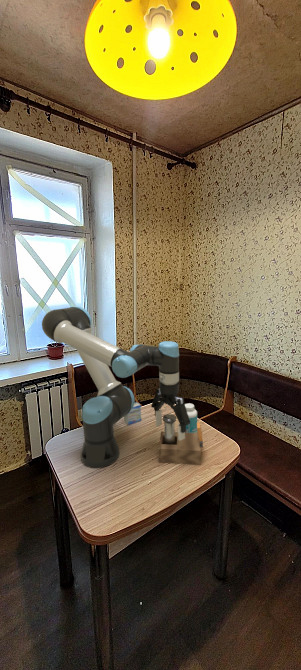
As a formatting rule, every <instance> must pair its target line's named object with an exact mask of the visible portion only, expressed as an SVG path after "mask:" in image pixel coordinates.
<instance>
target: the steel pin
mask: <svg viewBox="0 0 301 670" xmlns="http://www.w3.org/2000/svg"><path fill="white" fill-rule="evenodd" d="M162 421H163V422H164V432H165V444H169V445H175V432H176V431H175V423H176V421H177V417H176V415H174V414H171V413H169V414H164V415H163V416H162Z"/></svg>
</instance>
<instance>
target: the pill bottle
mask: <svg viewBox="0 0 301 670" xmlns="http://www.w3.org/2000/svg"><path fill="white" fill-rule="evenodd" d="M184 404H185V407H186V410H187V414H188V417H189V420H190V424H188V425H186V432H185V433H198V429H197V423H198V410H196V408H195V405H194V404H193V403H190V402H189V403H184Z"/></svg>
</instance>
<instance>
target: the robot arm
mask: <svg viewBox="0 0 301 670" xmlns="http://www.w3.org/2000/svg"><path fill="white" fill-rule="evenodd" d="M91 326H92V317H91V314H90V313H89V311H88V310H86V308H83V307H81V306H70V307H64V308H57V309H52V310H50V311H48V312H46V314H45V315H44V316H43V319H42V321H41V328H42V331H43V332H44V334H45V335H46V337H48V338H49V339H50V340H51V341H54V342H56V343H57V344H62V343H63V344H65V345H67V346H69V347H71V348H74V349H75V350H76V351H77V353H78V355H79V356H80V359H81V360H82V362H83V364H84V366H85V368H86V371H87V372H88V373H89V375H90V377H91V378H92V381H93V383H94V384H95V386H96V388H97V391H98V392H97V396H96V397H91V398H89V399H88V400H87V401H85V403H84V404H83V406H82V408H81V409H82V413H81V418H82V426H83V427H82V428H83V437H84V440H83V445H82V448H81V451H80V453H81V454H80V456H81V457H80V458H81V459H82V460H81V462H82V461H83V462H82V464H83V463H84V464H83V465H85V466H86V465H87V466H86V467H88V466H90V467H89V468H92V467H94V469H100V467H101V468H105V467H108V466H110V465H112V464H113V463H114V462H116V461H117V460H118V458H119V456H120V448H119V444H118V443H117V440H116V438H115V431H114V430H115V429H114V425H116V424H117V423H118V422H120V420H121V419H124V416H125V415H127V414H128V413H129V412H130V411H131V410H132V408H133V406H134V403H136V402H135V395H134V393H133V391H132V389H130V388H129V387H128V386H123V385H124V384H122V382H120V381H118V380H117V379H116V378H115V376H116V377H118V378H122V379H124V378H128V377H130V376H133V375H134V374H136V372H138V371H141V369H143V368H145V367H146V366H153V367H155V366H156V367H158V369H159V370H158V371H159V372H158V373H159V374H158V376H159V388H156V390H155V395H154V397H153V400H152V402H151V404H150V406H151V408H153V411H154V418H155V427H159V426H161V425H162V424H163V422H162V421H163V416H162V415H163V412H162V411H163V410H162V407H163V406H164V405H167V406H168V407H170V408H171V409H172V410H173V412H174V414H175V416H176V420H177V421H178V427H177V428H178V430H177V432H178V440H179V441H181V440H182V439H184V438H185V432H186V425H188V424H190V420H189V417H188V414H187V410H186V407H185V404H186V403H185V398H184V397H179V396H178V393H179V392H180V382H179V381H180V369H179V368H180V364H179V363H180V350H179V349H180V348H179V344H178V343H177V342H175V341H170V340H169V341H160V343H158V346H155V345H148V344H147V345H146V344H142V343H141V344H134V345H132V346H131V348H130V349H129V351H127V350H125V349H123V348H120V346H119V347H118V346H117V345H115V344H113V343H110V342H109V341H105V340H104V339H102V338H99V337H98V336H95V335H93V334H92V330H93V329H92V327H91ZM110 367H111V368H110ZM111 369H112V371H111ZM112 372H113V373H114V374H115V376H114V374H113V373H112Z"/></svg>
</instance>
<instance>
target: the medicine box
mask: <svg viewBox="0 0 301 670" xmlns="http://www.w3.org/2000/svg"><path fill="white" fill-rule="evenodd" d="M141 421H142V406H141V404H140V403H139V402H135V403H134V406H133V408H132V410H131V411H130V412H129V413H128V414H127V415H125V416H124V417H123V422H124V423H125V424H126V425H128V426H130V425H134V424H135V423H139V422H141Z"/></svg>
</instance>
